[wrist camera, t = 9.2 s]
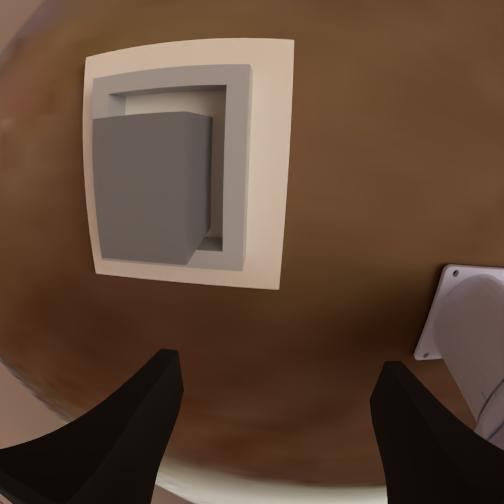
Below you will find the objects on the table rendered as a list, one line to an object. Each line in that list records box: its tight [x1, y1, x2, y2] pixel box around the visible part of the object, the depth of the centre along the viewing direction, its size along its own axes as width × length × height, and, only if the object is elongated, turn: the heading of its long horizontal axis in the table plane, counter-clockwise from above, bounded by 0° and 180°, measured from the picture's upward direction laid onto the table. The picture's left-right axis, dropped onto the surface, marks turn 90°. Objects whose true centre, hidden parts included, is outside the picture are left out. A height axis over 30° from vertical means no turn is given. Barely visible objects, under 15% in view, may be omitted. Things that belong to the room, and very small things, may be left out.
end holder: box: [83, 38, 294, 290], centre depth 15 cm, size 12×14×3 cm
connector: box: [93, 111, 213, 265], centre depth 14 cm, size 4×6×5 cm, turn 177°
